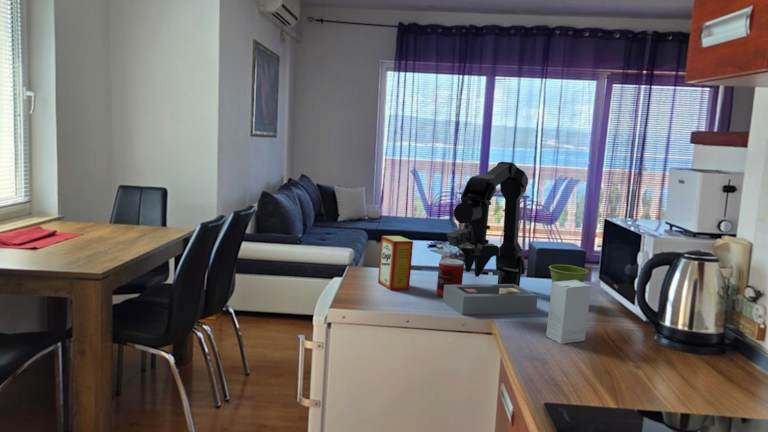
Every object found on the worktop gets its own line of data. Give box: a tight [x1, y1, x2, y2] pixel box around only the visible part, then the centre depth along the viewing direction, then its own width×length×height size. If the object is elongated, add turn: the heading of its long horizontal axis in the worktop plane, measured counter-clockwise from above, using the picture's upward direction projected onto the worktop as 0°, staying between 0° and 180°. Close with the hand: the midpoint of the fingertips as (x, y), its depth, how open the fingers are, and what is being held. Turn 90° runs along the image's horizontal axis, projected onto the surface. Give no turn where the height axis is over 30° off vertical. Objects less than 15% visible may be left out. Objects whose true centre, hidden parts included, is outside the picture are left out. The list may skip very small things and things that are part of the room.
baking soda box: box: [377, 235, 414, 291], centre depth 195 cm, size 10×6×16 cm
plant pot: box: [548, 264, 589, 283], centre depth 191 cm, size 12×12×11 cm
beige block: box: [499, 288, 520, 295], centre depth 182 cm, size 5×4×3 cm
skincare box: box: [545, 280, 593, 345], centre depth 154 cm, size 8×6×15 cm
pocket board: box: [442, 283, 539, 315], centre depth 180 cm, size 24×13×5 cm, turn 109°
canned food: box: [436, 258, 465, 299], centre depth 189 cm, size 8×8×11 cm
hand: (472, 274), depth 176 cm, fingers open, 5 cm apart
